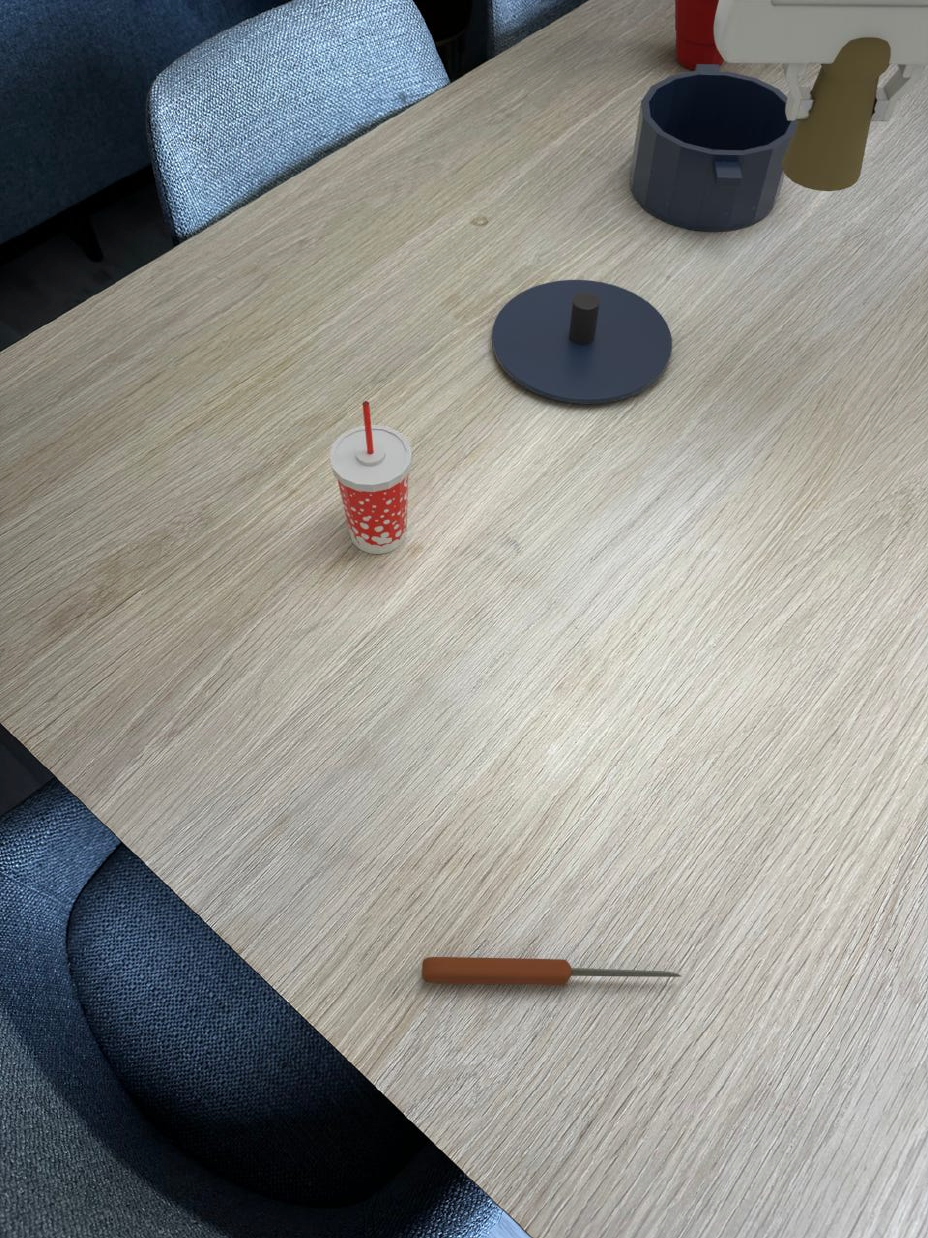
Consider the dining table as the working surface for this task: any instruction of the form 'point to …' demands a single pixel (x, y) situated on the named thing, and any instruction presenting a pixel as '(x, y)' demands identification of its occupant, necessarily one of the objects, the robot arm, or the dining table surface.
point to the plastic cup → (696, 33)
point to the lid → (581, 341)
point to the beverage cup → (373, 483)
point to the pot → (710, 149)
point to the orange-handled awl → (515, 971)
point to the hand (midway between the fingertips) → (835, 116)
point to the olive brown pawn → (838, 118)
